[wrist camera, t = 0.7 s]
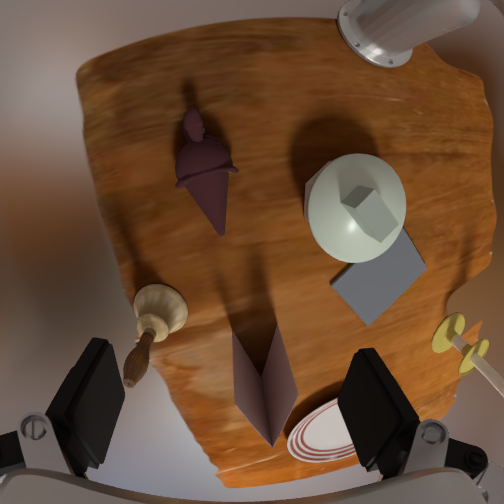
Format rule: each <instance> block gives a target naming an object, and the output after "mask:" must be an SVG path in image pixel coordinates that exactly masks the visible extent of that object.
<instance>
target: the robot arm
mask: <svg viewBox="0 0 504 504" xmlns="http://www.w3.org/2000/svg"><path fill="white" fill-rule="evenodd" d="M490 1H491V2H492V3H493V5H494V6H496V8H497V9H498V10H499V12H500V13H501V14H502V16H503V17H504V0H490ZM480 4H481V0H349V1H347V2H346V3H345V4H344V5H343V6H342V7H341V8H340V10H339V12H338V16H337V24H338V28H339V31H340V33H341V35H342V37H343V39H344V40H345V42H346V43H347V44H348V46H349V47H350V48H351V49H352V50H353V51H354V52H355V53H356V54H358V55H359V56H360V57H362V58H363V59H364V60H366V61H368V62H370V63H372V64H374V65H377V66H380V67H385V68H395V67H398V66H401V65H403V64H405V63H406V62H407V61H408V60H409V59H410V57H411V55H412V51H413V48H414V47H416V46H418V45H420V44H422V43H424V42H427V41H429V40H431V39H433V38H435V37H438V36H440V35H442V34H445V33H447V32H449V31H452V30H454V29H457V28H459V27H462V26H464V25H467V24H469V23H471V22H472V21H473V20H475V18H476V17H477V15H478V13H479V10H480ZM124 399H125V391H124V387H123V384H122V381H121V377H120V373H119V370H118V366H117V362H116V358H115V354H114V350H113V346H112V345H111V344H109V342H108V340H106V339H101V338H95V337H94V338H92V339H91V341H90V342H89V344H88V345H87V347H86V348H85V350H84V352H83V353H82V355H81V356H80V358H79V360H78V361H77V363H76V365H75V366H74V367H72V368H71V370H70V371H69V373H68V375H67V376H66V378H65V380H64V381H63V383H62V385H61V386H60V388H59V390H58V392H57V393H56V395H55V397H54V399H53V400H52V402H51V404H50V406H49V408H48V409H47V411H46V413H45V415H44V414H42V413H40V412H30V413H27V414H25V415H23V416H22V417H21V419H20V420H19V421H18V425H17V431H14V432H10V433H7V434H3V435H0V504H504V468H502V467H501V466H499V465H498V464H496V463H494V462H493V461H490V462H489V463H488V459H487V455H486V453H485V452H484V451H483V450H482V449H481V448H479V447H477V446H473V445H470V444H467V443H463V442H460V441H457V440H454V439H451V438H449V432H448V430H447V428H446V426H445V425H444V424H443V423H441V422H440V421H437V420H433V419H428V420H425V421H422V422H420V420H419V417H418V415H417V413H416V412H415V410H414V409H413V407H412V405H411V404H410V402H409V401H408V399H407V397H406V396H405V394H404V393H403V391H402V390H401V388H400V386H399V385H398V383H397V382H396V380H395V379H394V377H393V376H392V374H391V373H390V371H389V370H388V368H387V367H386V365H385V364H384V362H383V361H382V359H381V358H380V356H379V355H378V353H377V352H376V350H375V349H374V348H363V349H359V350H358V352H357V353H355V354H354V356H353V359H352V361H351V364H350V367H349V370H348V372H347V375H346V378H345V380H344V383H343V385H342V388H341V390H340V393H339V395H338V398H337V404H338V407H339V410H340V412H341V415H342V417H343V420H344V422H345V425H346V427H347V430H348V432H349V435H350V438H351V440H352V443H353V445H354V448H355V451H356V453H357V456H358V458H359V461H360V464H361V465H362V466H363V467H365V468H366V470H367V472H371V471H374V470H378V469H379V471H380V473H381V475H380V477H379V479H378V481H377V482H375V483H372V484H368V485H364V486H360V487H356V488H352V489H348V490H343V491H338V492H334V493H328V494H323V495H317V496H311V497H303V498H296V499H287V500H275V501H260V502H213V501H197V500H186V499H177V498H169V497H162V496H156V495H150V494H145V493H139V492H135V491H130V490H125V489H121V488H116V487H113V486H109V485H104V484H101V483H98V482H94V481H91V480H89V479H88V477H87V475H86V473H85V472H86V471H87V467H92V468H95V469H98V467H99V464H103V462H104V460H105V457H106V453H107V450H108V447H109V444H110V441H111V437H112V434H113V431H114V428H115V425H116V422H117V419H118V416H119V413H120V410H121V408H122V405H123V402H124Z"/></svg>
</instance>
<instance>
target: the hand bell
mask: <svg viewBox="0 0 504 504" xmlns="http://www.w3.org/2000/svg"><path fill="white" fill-rule="evenodd" d="M134 310H135V314H136V316H137V318H138V320H137V330H138V332H139V334H140V335H141V338H140V341H139V344H138V345H137V347H135V348H134V349H133V350H132V351H131V352H130V353H129V355H128V356H127V358H126V360H125V364H124V368H123V371H124V378H123V383H124V385H125V386H127V387H129V388H133V387H134V385H135V384H136V383H137V382H138V381H139V380H140V379H141V378H142V377H143V376H144V374H145V373H146V371H147V368H148V364H149V350H150V348H151V346H152V344H153V342H159V341H162V340H164V339H165V338H166V337H167V335H168V333H172V332H175V331H177V330H178V329H180V328H181V327H182V326H183V325H184V324H185V322H186V320H187V316H188V309H187V305H186V302H185V301H184V299H183V297H182V296H181V295H180V294H179V293H178V292H177V291H176V290H174V289H173V288H171V287H169V286H166V285H162V284H151V285H147V286H145V287H143V288H142V289H140V290H139V291H138V293H137V294H136V296H135V299H134Z"/></svg>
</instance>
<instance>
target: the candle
mask: <svg viewBox="0 0 504 504" xmlns="http://www.w3.org/2000/svg"><path fill="white" fill-rule="evenodd" d="M464 325H465V318H464V316H463V315H462V314H461V313H458V312H456V313H453V314H451V315H449V316H448V317H447V318H445V319H444V320H443V321H442V323H441V324H440V325H439V326H438V328H437V329H436V331H435V333H434V335H433V338H432V341H431V346H432V349H433V350H434V351H435V352H439V353H441V352H443V351H446V350H447V349H449V348H450V347H451V346H454V347H455V348H456V349H457V350H458V351H459V352H460V353H461V354H462V355H463V356H464V357H463V359H462V360H461V363H460V365H459V373H460V375H461V376H462V375H467V374H468V373H470V372H472V371H473V370H474V369H475V368H477V369H478V370H479V371H480V372H481V373H482V374H483V375H484V376H485V377H486V378H487V379H488V380H489V381H490V383H491V384H492V385H493V386H494V387H495V388H496V389H497V390H498V391H499V392H500V394H501V395H502V396H503V397H504V380H503V378H502V377H501V376H500V375H499V374H498V373H497V372H496V371H495V370H494V369H493V368H492V367H491V366H490V365H489V364H488V363H487V362H486V361H485V360H484V359H483V358H484V357H485V355H486V352H487V350H488V346H489V343H488V340H487V339H481V340H479V341H477V342H476V343H475V344H474V345H473V346H471V345H470V344H469V343H468V342H466V341H465V340H464V339H463V338H462V337H461V336H460V335H461V333H462V331H463V328H464Z"/></svg>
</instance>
